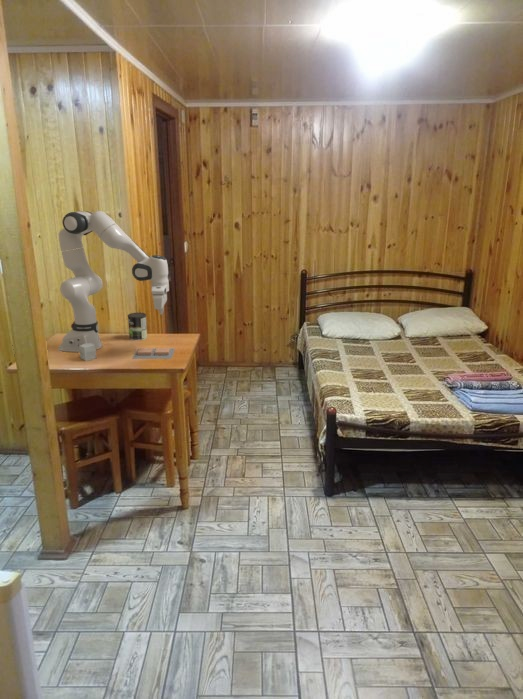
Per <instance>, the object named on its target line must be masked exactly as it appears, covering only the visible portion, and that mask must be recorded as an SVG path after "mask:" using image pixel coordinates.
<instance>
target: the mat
mask: <svg viewBox="0 0 523 699" xmlns="http://www.w3.org/2000/svg"><path fill="white" fill-rule="evenodd" d="M139 349H140V348H137V349H136V351H135V353H134V354H133V357H132V358H131V359H132V360H140V359H141V360H157V359H158V360H161V359H162V360H171V359H173V355H174V352H175V351H176V350H175V349H176V348H170V353H169V355H155V351H156V349H157V348H153V353H152V355H138V351H139Z"/></svg>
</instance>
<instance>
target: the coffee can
mask: <svg viewBox="0 0 523 699" xmlns="http://www.w3.org/2000/svg"><path fill="white" fill-rule="evenodd" d="M127 320H128V322H127V323H128V335H129V340H132V341H144V340H147V339H148V328H147V314H146V313H145V312H131V313H128V314H127ZM146 338H147V339H146Z"/></svg>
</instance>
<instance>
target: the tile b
mask: <svg viewBox="0 0 523 699" xmlns="http://www.w3.org/2000/svg"><path fill="white" fill-rule="evenodd" d="M155 349H156V351H155V355H169V353H170V349H171V347H157V348H155Z"/></svg>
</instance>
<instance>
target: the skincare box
mask: <svg viewBox="0 0 523 699" xmlns="http://www.w3.org/2000/svg"><path fill="white" fill-rule="evenodd" d="M79 350H80V352H79V357H80V359H81V360H83V361H85V362H86V361H87V362H88V361H92V360H95V359H97V352H96V350H97V349H96V350H95V345H93V344H91V343H85V344H81V345H79Z"/></svg>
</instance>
